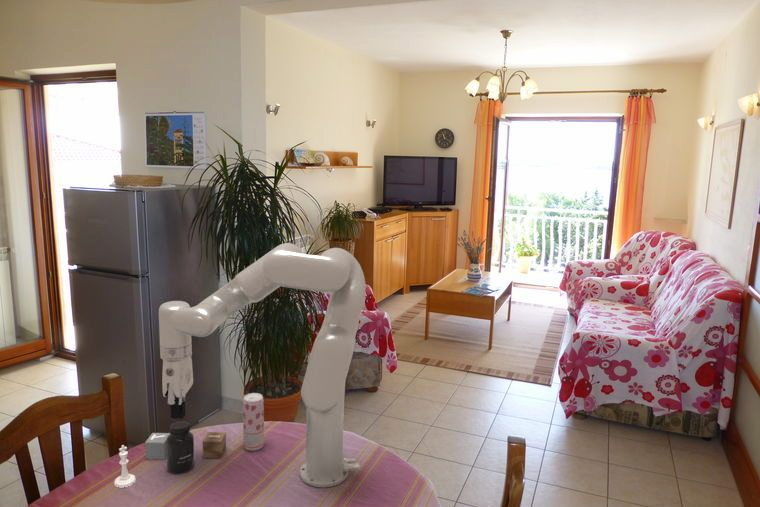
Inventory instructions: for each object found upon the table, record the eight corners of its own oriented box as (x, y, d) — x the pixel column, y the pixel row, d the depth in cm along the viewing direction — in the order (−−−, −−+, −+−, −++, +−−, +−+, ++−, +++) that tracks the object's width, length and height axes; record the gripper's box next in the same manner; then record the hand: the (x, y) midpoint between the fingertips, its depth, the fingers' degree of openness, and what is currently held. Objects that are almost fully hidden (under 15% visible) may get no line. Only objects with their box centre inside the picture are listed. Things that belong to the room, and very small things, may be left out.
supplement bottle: (185, 476, 141) (184, 433, 139) (161, 472, 143) (159, 430, 140) (199, 461, 148) (198, 420, 146) (176, 458, 149) (174, 417, 147)
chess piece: (111, 480, 138) (109, 444, 136) (132, 474, 142) (130, 438, 140) (117, 490, 135) (115, 453, 133) (138, 483, 138) (136, 446, 136)
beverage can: (240, 450, 154) (239, 400, 151) (247, 439, 160) (247, 391, 157) (260, 452, 153) (259, 402, 151) (266, 441, 159) (266, 393, 156)
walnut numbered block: (226, 448, 155) (225, 431, 154) (221, 458, 150) (221, 441, 149) (208, 448, 155) (207, 431, 154) (203, 458, 150) (202, 440, 149)
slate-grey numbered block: (171, 449, 153) (170, 432, 152) (164, 459, 149) (163, 442, 148) (153, 449, 153) (152, 432, 152) (146, 459, 148) (145, 441, 147)
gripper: (181, 361, 132) (183, 432, 135) (199, 340, 147) (201, 404, 150) (149, 361, 132) (152, 431, 135) (171, 339, 146) (173, 403, 150)
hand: (178, 416), depth 143 cm, fingers closed
